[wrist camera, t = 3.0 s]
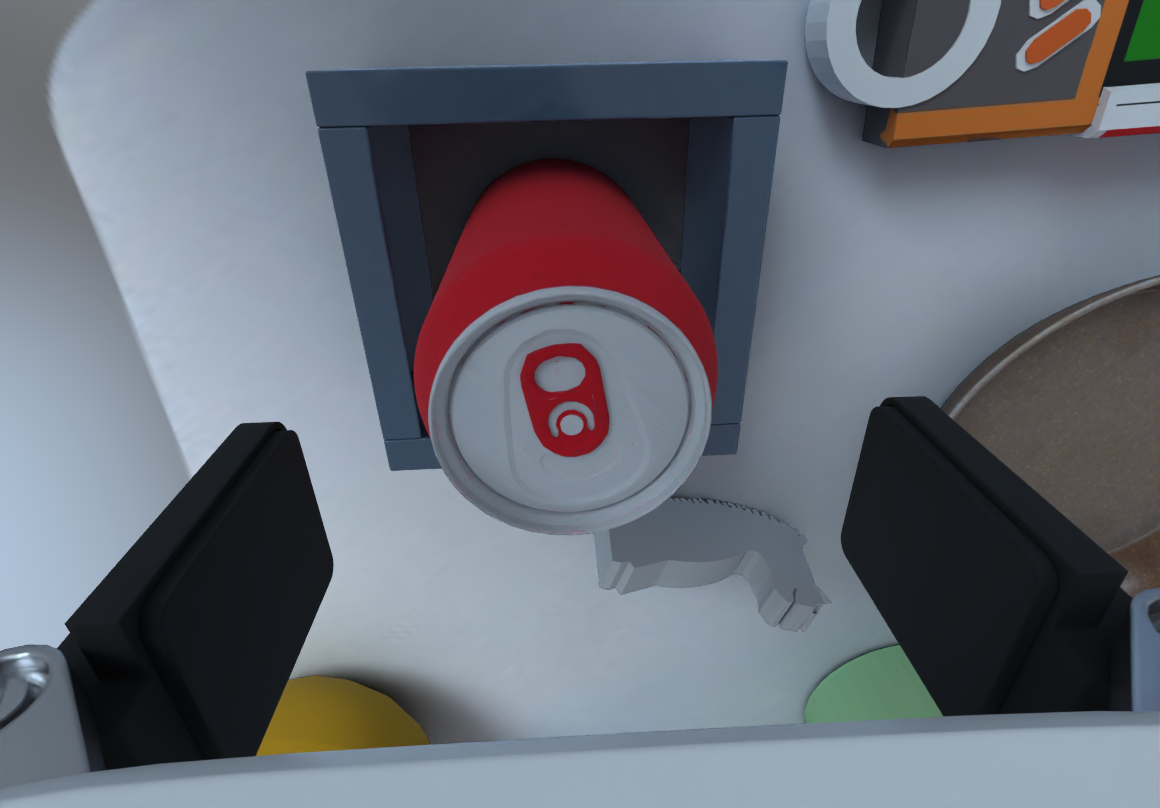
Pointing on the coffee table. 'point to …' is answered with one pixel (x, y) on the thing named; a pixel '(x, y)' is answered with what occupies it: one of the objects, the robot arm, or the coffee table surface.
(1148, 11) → the electronic device
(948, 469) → the robot arm
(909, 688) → the mug
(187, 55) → the coffee table surface
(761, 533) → the grey curved flat piece
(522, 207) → the beverage can
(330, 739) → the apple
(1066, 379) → the plant saucer
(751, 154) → the tub
